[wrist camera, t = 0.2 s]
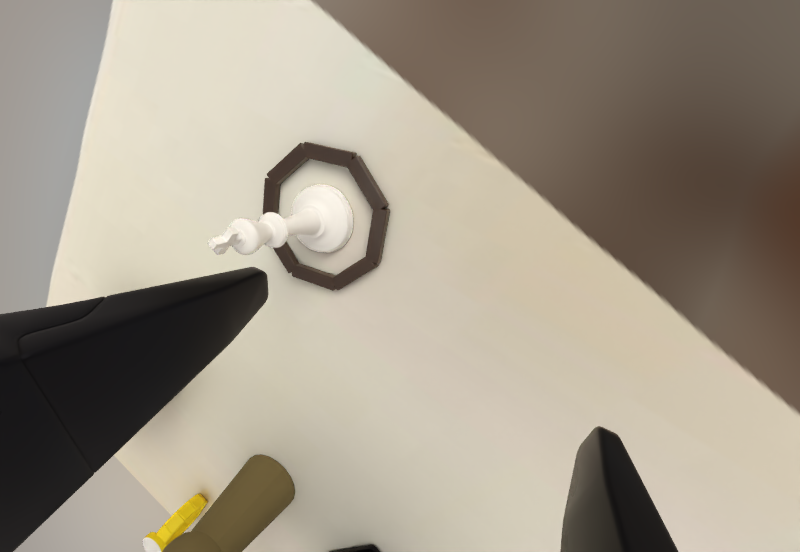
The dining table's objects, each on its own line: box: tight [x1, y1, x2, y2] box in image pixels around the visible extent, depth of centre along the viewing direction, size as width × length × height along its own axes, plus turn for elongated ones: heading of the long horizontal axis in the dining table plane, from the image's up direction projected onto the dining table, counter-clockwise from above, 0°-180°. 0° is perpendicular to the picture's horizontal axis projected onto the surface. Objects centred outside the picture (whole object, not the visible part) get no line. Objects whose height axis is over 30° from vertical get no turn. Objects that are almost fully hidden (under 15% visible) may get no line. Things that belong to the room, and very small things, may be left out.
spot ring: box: [263, 142, 390, 290], centre depth 27 cm, size 10×10×1 cm
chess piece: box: [207, 184, 353, 255], centre depth 23 cm, size 5×5×10 cm
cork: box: [162, 455, 295, 552], centre depth 33 cm, size 6×6×11 cm
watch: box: [142, 494, 207, 552], centre depth 41 cm, size 6×3×6 cm, turn 146°
